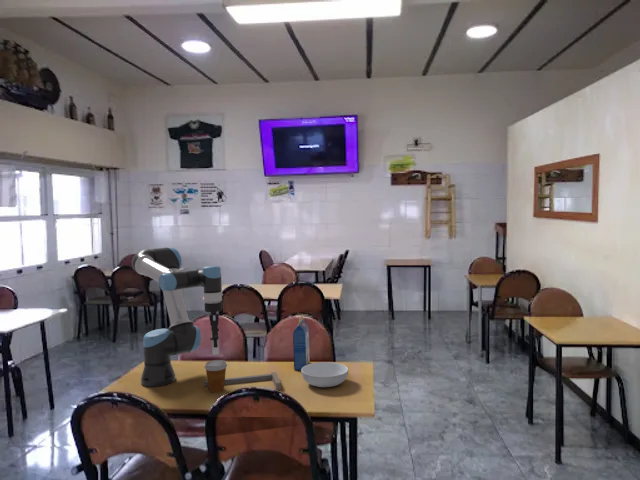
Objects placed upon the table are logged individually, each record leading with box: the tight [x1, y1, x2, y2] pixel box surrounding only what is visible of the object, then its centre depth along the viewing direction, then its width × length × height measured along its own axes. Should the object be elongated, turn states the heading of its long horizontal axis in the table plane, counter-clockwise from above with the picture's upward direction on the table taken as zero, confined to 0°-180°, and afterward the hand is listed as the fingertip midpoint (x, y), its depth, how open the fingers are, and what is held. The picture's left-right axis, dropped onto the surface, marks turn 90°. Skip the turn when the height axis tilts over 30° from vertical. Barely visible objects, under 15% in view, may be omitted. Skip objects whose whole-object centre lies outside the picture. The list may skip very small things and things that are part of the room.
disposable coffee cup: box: [204, 359, 228, 394], centre depth 211 cm, size 10×10×12 cm
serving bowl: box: [300, 361, 349, 388], centre depth 215 cm, size 21×21×7 cm
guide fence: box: [204, 371, 282, 391], centre depth 214 cm, size 32×16×3 cm, turn 103°
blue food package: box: [292, 313, 311, 371], centre depth 240 cm, size 6×12×25 cm, turn 173°
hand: (215, 350), depth 210 cm, fingers open, 13 cm apart
